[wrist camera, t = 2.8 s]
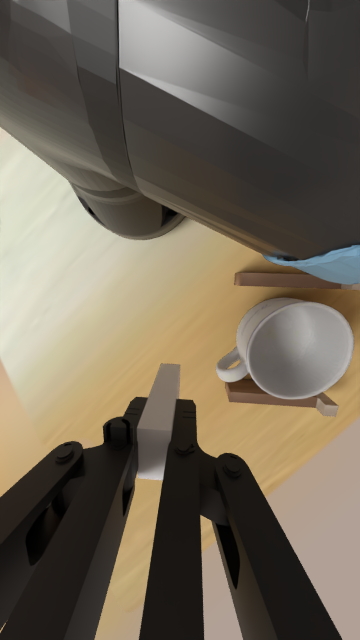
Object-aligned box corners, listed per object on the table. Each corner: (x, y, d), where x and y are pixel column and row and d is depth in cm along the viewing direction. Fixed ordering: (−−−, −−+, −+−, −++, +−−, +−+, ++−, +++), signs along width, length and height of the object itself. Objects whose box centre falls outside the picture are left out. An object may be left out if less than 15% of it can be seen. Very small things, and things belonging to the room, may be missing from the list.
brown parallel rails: (235, 273, 25) (245, 272, 20) (334, 276, 24) (369, 275, 20) (225, 387, 29) (231, 409, 24) (311, 392, 28) (335, 416, 23)
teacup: (305, 287, 25) (356, 290, 17) (312, 361, 27) (360, 394, 19) (202, 309, 27) (206, 321, 19) (216, 377, 29) (225, 414, 21)
